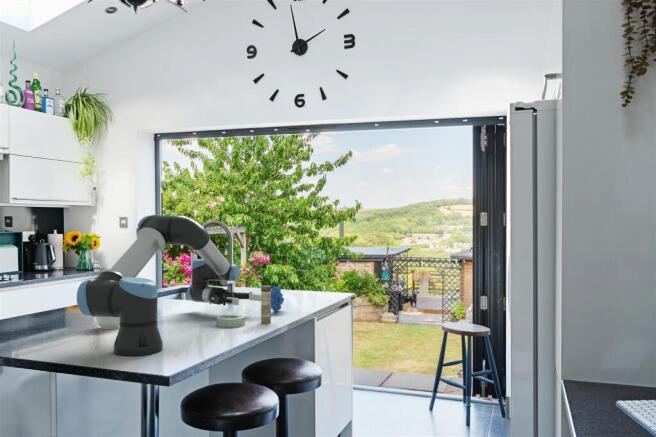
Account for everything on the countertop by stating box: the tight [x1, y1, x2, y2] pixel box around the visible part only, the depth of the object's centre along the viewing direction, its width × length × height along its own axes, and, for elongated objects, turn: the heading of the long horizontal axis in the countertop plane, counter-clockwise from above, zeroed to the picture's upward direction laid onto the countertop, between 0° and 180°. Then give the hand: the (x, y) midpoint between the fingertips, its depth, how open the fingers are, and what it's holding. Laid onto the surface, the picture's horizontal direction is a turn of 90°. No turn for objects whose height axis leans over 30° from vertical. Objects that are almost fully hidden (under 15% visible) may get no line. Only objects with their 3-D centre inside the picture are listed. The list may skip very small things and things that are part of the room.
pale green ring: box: [216, 314, 246, 328], centre depth 222 cm, size 11×11×3 cm
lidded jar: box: [95, 316, 120, 330], centre depth 214 cm, size 11×11×9 cm
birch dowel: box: [260, 285, 272, 324], centre depth 227 cm, size 4×4×15 cm
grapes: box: [271, 285, 285, 313], centre depth 251 cm, size 12×7×12 cm, turn 159°
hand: (249, 299), depth 232 cm, fingers open, 13 cm apart
